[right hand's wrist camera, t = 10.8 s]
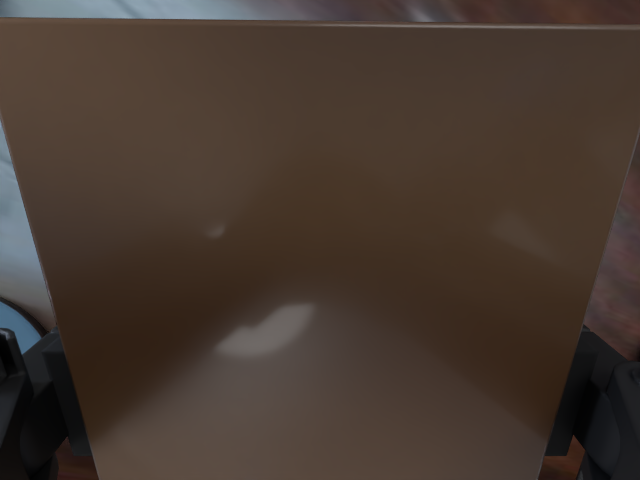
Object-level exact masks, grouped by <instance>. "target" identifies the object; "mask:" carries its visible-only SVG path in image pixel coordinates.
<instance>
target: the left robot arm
mask: <svg viewBox="0 0 640 480" xmlns="http://www.w3.org/2000/svg"><path fill="white" fill-rule="evenodd" d="M0 328H9V329H10V330H12V331H14V332H15V335H16V338H17V341H18V344H19V347H20V350H21V353H22V354H23V353H25V352H26V351H27V350H28V349H29V348H31V347H32V346H33V345H34V344H35V343H37V342H38V341H39V340H40V339H42V338H43V337H44V336H45V335H46V334H47V332H46V331H45V329H44V328H43V327H42V326H41V325H40V324H39V323H38V321H37V320H35V319H34V318H33V317H32V316H31V315H30V314H28V313H27V312H26V311H25V310H23V309H22V308H20V307H18V306H17V305H15V304H13V303H11V302H9V301H7V300H5V299H3V298H0Z"/></svg>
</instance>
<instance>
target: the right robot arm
mask: <svg viewBox="0 0 640 480" xmlns="http://www.w3.org/2000/svg"><path fill="white" fill-rule="evenodd" d="M573 435H574V436H575V437H576V439H577V440H578V441H579V442H580V444H581V445H582V446H583V448H584V449H585V450H586V451H585V454H584V457H583V460H582V463H581V465H580V468H579V471H578V474H577V477H576V480H640V362H637V361H628V360H626V359H625V358H624V357H623V356H622V355H620V354H619V353H618V352H617V351H616V350H614V349H613V348H612V347H611V346H609V345H608V344H607V343H606V342H605V341H603V340H602V339H601V338H600V337H599V336H597V335H596V334H595V333H594V332H590V329H589V328H588V327H586V326H585V325H584V324H583V327H582V331H581V334H580V337H579V341H578V344H577V348H576V351H575V354H574V358H573V361H572V365H571V368H570V371H569V375H568V378H567V381H566V385H565V388H564V392H563V395H562V398H561V402H560V405H559V409H558V412H557V415H556V419H555V422H554V426H553V429H552V432H551V436H550V439H549V442H548V446H547V449H546V453H545V456H567V452H568V449H569V446H570V443H571V440H572V437H573ZM67 436H68V439H69V442H70V445H71V448H72V451H73V455H74V456H93V455H92V451H91V448H90V444H89V440H88V437H87V433H86V429H85V426H84V422H83V419H82V415H81V411H80V408H79V404H78V400H77V397H76V393H75V389H74V386H73V382H72V378H71V375H70V371H69V367H68V364H67V360H66V357H65V353H64V349H63V346H62V342H61V338H60V335H59V331H58V327H57V326H56V327H55V328H54V329H52V330H51V333H48V334H46V335H45V336H44V337H43V338H42V339H40V340H39V341H38V342H37V343H35V344H34V345H33V346H32V347H31V348H29V349H28V350H27V351H26V352H25V353H23V354H22V353H21V350H20V347H19V344H18V341H17V338H16V335H15V332H14V331H12V330H10V329H9V328H0V480H57V476H58V469H59V466H58V460H57V457H56V454H55V451H56V450H57V449H58V447H59V446H60V445H61V444H62V442H63V441H64V440H65V438H66V437H67Z"/></svg>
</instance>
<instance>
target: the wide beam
mask: <svg viewBox="0 0 640 480" xmlns="http://www.w3.org/2000/svg"><path fill="white" fill-rule="evenodd" d="M0 119H1V123H2V127H3V130H4V134H5V138H6V141H7V145H8V149H9V152H10V156H11V160H12V163H13V167H14V171H15V174H16V178H17V181H18V185H19V189H20V192H21V196H22V200H23V203H24V207H25V211H26V214H27V218H28V222H29V225H30V229H31V233H32V236H33V240H34V243H35V247H36V251H37V254H38V258H39V262H40V265H41V269H42V273H43V276H44V280H45V284H46V287H47V291H48V295H49V298H50V302H51V305H52V309H53V313H54V316H55V320H56V324H57V327H58V331H59V335H60V338H61V342H62V346H63V349H64V353H65V357H66V360H67V364H68V367H69V371H70V375H71V378H72V382H73V386H74V389H75V393H76V397H77V400H78V404H79V408H80V411H81V415H82V419H83V422H84V426H85V429H86V433H87V437H88V440H89V444H90V448H91V451H92V455H93V459H94V462H95V466H96V470H97V473H98V477H99V480H538V476H539V473H540V470H541V466H542V463H543V459H544V456H545V453H546V449H547V446H548V442H549V439H550V436H551V432H552V429H553V426H554V422H555V419H556V415H557V412H558V409H559V405H560V402H561V398H562V395H563V392H564V388H565V385H566V381H567V378H568V375H569V371H570V368H571V365H572V361H573V358H574V354H575V351H576V348H577V344H578V341H579V337H580V334H581V331H582V327H583V324H584V320H585V317H586V314H587V310H588V307H589V304H590V300H591V297H592V293H593V290H594V287H595V283H596V280H597V276H598V273H599V270H600V266H601V263H602V260H603V256H604V253H605V249H606V246H607V243H608V239H609V236H610V232H611V229H612V226H613V222H614V219H615V215H616V212H617V209H618V205H619V202H620V199H621V195H622V192H623V188H624V185H625V182H626V178H627V175H628V171H629V168H630V165H631V161H632V158H633V154H634V151H635V148H636V144H637V141H638V138H639V134H640V24H560V23H470V22H380V21H290V20H201V19H111V18H21V17H0Z"/></svg>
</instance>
